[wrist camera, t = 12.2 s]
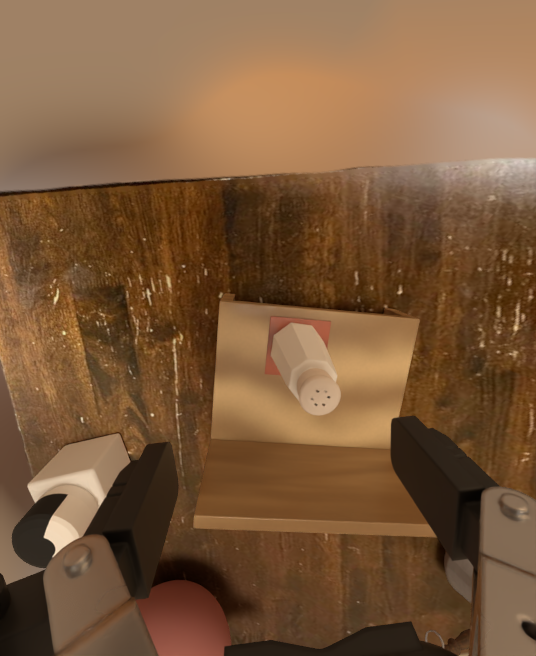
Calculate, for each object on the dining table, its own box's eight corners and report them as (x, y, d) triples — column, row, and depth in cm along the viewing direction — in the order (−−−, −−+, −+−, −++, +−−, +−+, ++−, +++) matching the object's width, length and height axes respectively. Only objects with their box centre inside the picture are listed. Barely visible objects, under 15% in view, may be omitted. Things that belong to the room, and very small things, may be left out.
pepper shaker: (305, 382, 32) (332, 447, 21) (259, 357, 31) (263, 412, 20) (334, 338, 31) (377, 383, 20) (288, 311, 30) (308, 343, 19)
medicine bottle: (85, 491, 41) (18, 586, 29) (64, 444, 39) (-15, 526, 27) (138, 479, 41) (93, 569, 29) (120, 431, 39) (64, 508, 27)
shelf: (224, 293, 36) (204, 324, 20) (393, 308, 37) (496, 349, 22) (216, 419, 39) (193, 528, 24) (370, 429, 41) (443, 538, 25)
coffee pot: (523, 522, 46) (650, 648, 31) (488, 582, 48) (591, 724, 34) (391, 490, 43) (462, 611, 29) (361, 555, 46) (413, 697, 31)
